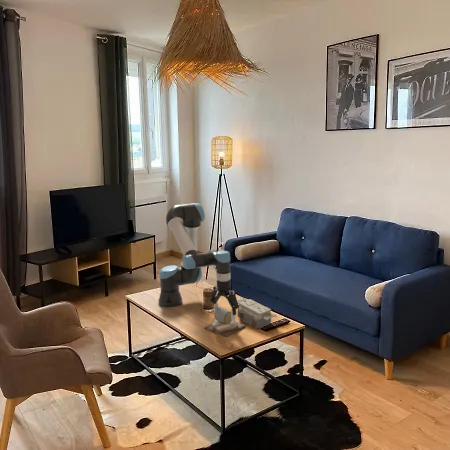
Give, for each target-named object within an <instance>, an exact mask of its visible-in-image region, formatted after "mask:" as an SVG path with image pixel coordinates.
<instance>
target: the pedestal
mask: <svg viewBox="0 0 450 450" xmlns="http://www.w3.org/2000/svg"><path fill="white" fill-rule="evenodd" d="M203 328H204V330H206V331H208V332H211V333H214V334H216V335H220V336H223V337H226V338H227V337H229V336H231V335H233V334H235V333H237V332H239V331H240V330H242V329H244V328H246V324H243V323H240V322H239V321H238V320H237V319H236V320H234V321H231V322H230V323H229V324H224V323H222V322H219V321H217V320H216V319H215V318H214V319H213V320H212V321H211V323H210V324H207V325H206V326H204V327H203Z"/></svg>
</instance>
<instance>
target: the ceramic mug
mask: <svg viewBox="0 0 450 450" xmlns="http://www.w3.org/2000/svg"><path fill="white" fill-rule="evenodd" d="M213 317H214V319H216V320H217V321H219V322H222V323H224V324H229V323H230V322H231V310H229V309H226V308H224V307H221V306H218V309H217V310H216V311H215V314H214V313H213Z"/></svg>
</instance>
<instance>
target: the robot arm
mask: <svg viewBox="0 0 450 450" xmlns="http://www.w3.org/2000/svg"><path fill="white" fill-rule="evenodd" d="M205 214H206V213H205V211H204V208H203V206H202V205H201V203H195V202H192V203H185V204H175V205H173V206H171V208H169V209H168V211H167V214H166V216H165V221H166V225H167V228H168V229H169V230H171V232H172V234H173V236H174V238H175V240H176V242H177V245H178V247H179V248H180V250H181V253H182V254H183V256H182V259H181V260H182V261H181V262H180V266H179V267H178V266H177V265H167V266H164V267H163V268H161V269H159V270H160V271H159V283H160V284H159V285H160V287H159V289H160V293H159V297H158V305H159V306H160V307H165V308H169V307H170V308H173V307H177V306H179V305H181V304H182V303H183V297H182V294H181V292H180V287H181V286H185V285H186V286H187V285H191V284H193V285H194V284H196V283H199V282H200V281H201V279H202V275H203V272H202V270H203V268H204V267H211V266H215V267H216V272H215V273H216V285H215V286H213V288H212V293H211V296H210V300H209V301H210V302H212V305H213V307H212V309H213V315H214V314H215V311H216V310H217V309H218V308H219V303H218V301H219V300H220V298H221V297H223V298H225V299H226V300H227V301H228V303H229V305H230V308H231V309H230V312H231V321H234V320H237V319H236V315H237V310H238V308H239V304H238V299H237V297H236V291H235V290H231V286H232V282H231V281H232V280H231V253H230V251H227V250H219V251H218V250H215V249H210V250H208V251H206V252H201V253H198V237H199V235H198V234H199V228H200V227H201V226H202V224H201V223H203V222H204V221H205V216H206V215H205Z"/></svg>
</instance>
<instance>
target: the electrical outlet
mask: <svg viewBox="0 0 450 450" xmlns="http://www.w3.org/2000/svg"><path fill="white" fill-rule="evenodd" d="M237 302H238V305H239V308H238V309H237V318H239V319H240V320H242V321H243V322H244V323H246V324H247V325H249V326H252V327H254V328H255V329H262V328H265V327H267V325H268V326H270V325H269V324H271V322H272V318H276V317H278V315H277V314H276V313H275V314H274V313H273V314H272V309H271V308H270V307H267V306H264V305H263V304H261V303H258V302H257V301H255V300H253V299H250V298H249V299H245V298H241V299H240V300H238V299H237ZM264 326H265V327H264Z"/></svg>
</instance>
